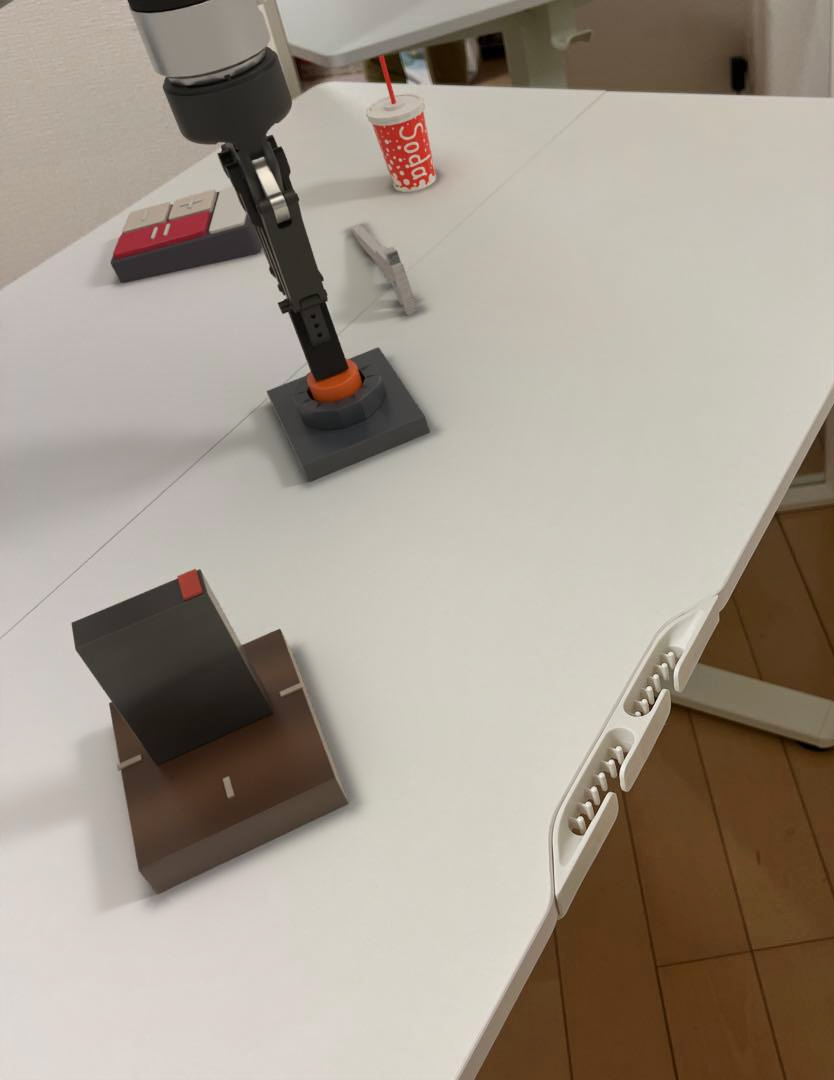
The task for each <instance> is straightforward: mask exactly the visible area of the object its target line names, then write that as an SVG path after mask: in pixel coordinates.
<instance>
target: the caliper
mask: <svg viewBox="0 0 834 1080" xmlns="http://www.w3.org/2000/svg"><path fill="white" fill-rule="evenodd" d="M351 232H352V234H353V236H354V237H355V239H356V240H357V242H358V244H360V247H361V248H362V249H363V250H364V252H365V253H367V255H368V256H369V257H370V258H371V260H373V261H374V262H375V264H377V265H378V267H380V268H381V270H382V273H383V276H384V278H386V279H387V281H388V282H389V281H390V283H391V284H392V288H393V290H394V292H395V295H396V297H397V300H398V302H399V305H400V307H403V310H404V312H405V314H406V315H407V316H411V315H413V314H416V313H418V308H417V304H416V301H415V298H414V294H413V291H412V288H411V284H410V281H409V278H408V276H407V272H406V270H405V267H404V264H403V263H402V261H401V258H400V255H399V252H398V250H397V249H396V248H395V247H394V246H391V247H389V248H388V247H386V246H383V245H382V244H381V243H380V242H379V241H378V240H377V239H376V238H375V237H374V236H373V235H372V234H371V233H370V232H369V231H368V230H367V229H366V228H365V227H364V226H362V224H358V225H355V226H353V227H351Z"/></svg>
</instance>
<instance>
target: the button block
mask: <svg viewBox="0 0 834 1080" xmlns="http://www.w3.org/2000/svg"><path fill="white" fill-rule="evenodd" d="M348 359H349V360H351V361H353V362H354V363H355V364H356V366H357V368H358V371H359V374H360V377H361V380H362V383H363V385H362V387H361V388H359V389H358V390H357V391H356V392H355V393H353V394H352V395H351V396H349V397H346V398H344V399H341V400H339V401H334V402H323V403H321V402H318V401H315V400H314V398H313V396H312V393H311V390H310V388H309V385H308V383H307V377H308V374H309V373H310V371H309V372H307V374H305V375H304V376H300V377H298V378H296V379H294V380H291V381H288V382H286V383H283V384H281V385H278V386H276V387H273V388H271V389H268V390H266V393H267V396H268V399H269V401H270V403H271V405H272V408H273V410H274V412H275V414H276V416H277V418H278V421H279V423H280V424H281V427H282V429H283V431H284V433H285V435H286V438H287V440H288V442H289V444H290V446H291V448H292V450H293V452H294V454H295V457H296V458H297V461H298V463H299V465H300V467H301V469H302V471H303V473H304V475H305V477H306V480H307V482H308V483H311V482H314V481H316V480H319V479H322V478H323V477H326V476H329V475H331V474H333V473H335V472H338V471H341V470H344V469H345V468H348V467H350V466H352V465H355V464H357V463H360V462H362V461H366V460H367V459H370V458H373V457H375V456H377V455H379V454H381V453H384V452H386V451H390V450H391V449H394V448H397V447H399V446H401V445H404V444H406V443H409V442H411V441H414V440H416V439H419V438H421V437H423V436H425V435H428V434H430V433H431V430H430V427H429V424H428V420H427V418H426V416H425V413H424V412H423V410H422V409H421V408H420V406H419V405H418V403H417V402H416V401H415V399H414V398H413V396H412V394H411V393H410V391H409V390H408V389H407V387H406V386H405V383H403V381H402V379H401V378H400V377H399V375H398V373H397V372H396V371H395V369H394V367H393V366H392V364H391V363H390V362H389V360H388V359H387V357H386V355H385V354H384V353H383V351H382V350H381V348H380V347H375V348H373V349H370V350H367V351H365V352H362V353H360V354H357V355H355V356H352V357H349V358H348Z"/></svg>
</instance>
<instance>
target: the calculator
mask: <svg viewBox="0 0 834 1080" xmlns="http://www.w3.org/2000/svg"><path fill="white" fill-rule="evenodd" d="M261 251H262V246H261V244H260V241H259V239H258V236H257V234H256V231H255V229H254V226H253V224H252V222H251V220H250V219H249V217H248V215H247V213H246V212H245V210H244V209H243V207H242V205H241V204H240V202H239V199H238V197H237V194H236V191H235V189H234V187H233V185H231V186H227V187H223V188H222V189H219V191H217V190H216V189H210V190H207V191H202V192H199V193H194V194H191V195H187V196H185V197H180V198H177V199H175V200H174V201H173V203H171V202H170V201H167V202H163V203H159V204H155V205H152V206H151V205H150V206H147V207H145V208H140V209H137V210H134V211H130V212H129V213H128V216H127V218H126V220H125V223H124V225H123V227H122V230H121V234H120V236H119V237H118V240H117V243H116V245H115V248H114V250H113V252H112V257H111V260H110V266H111V268H112V269H113V271H114V273H115V274H116V276H117V278H118V280H119V281H120V283H121V284H126V283H131V282H135V281H139V280H144V279H149V278H153V277H154V278H155V277H158V276H162V275H163V276H164V275H168V274H171V273H172V274H173V273H177V272H180V271H187V270H189V269H196V268H199V267H204V266H209V265H212V264H218V263H223V262H227V261H232V260H236V259H242V258H245V257H250V256H254V255H258V254H260V253H261Z"/></svg>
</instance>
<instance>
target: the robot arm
mask: <svg viewBox="0 0 834 1080" xmlns="http://www.w3.org/2000/svg"><path fill="white" fill-rule="evenodd" d="M14 1H15V0H0V10H1V9H2V8H5V7H6V6H7V5H9V4H11V3H12V2H14ZM267 1H268V0H127V3H128V8H129V11H130V14H131V16H132V18H133V21H134V23H135V26H136V28H137V31H138V33H139V36H140V38H141V41H142V44H143V46H144V48H145V50H146V54H147V55H148V58H149V61H150V62H151V65H152V68H153V71H154V72H155V73H156V74H158V75H160V76H163V77H164V80H163V84H162V90H163V92H164V94H165V98H166V100H167V104H168V105H169V107H170V111H171V112H172V115H173V117H174V120H175V122H176V124H177V127H178V130H179V132H180V134H181V136H182V137H183V138H185V139H186V140H187V141H189V142H192V143H195V144H198V145H206V146H210V145H211V146H213V145H214V146H215V145H218V143H223V144H220V148H221V150H220V152H217V158H218V160H219V162H220V163H219V164H220V165H221V168H222V170H223V172H224V174H225V175H226V177H227V178H228V179H229V181H230V183H231V186H233V187H234V189H235V191H236V194H237V197H238V199H239V202H240V204H241V205H242V207H243V209H244V210H245V212H246V213H247V215H248V217H249V219H250V220H251V222H252V224H253V226H254V229H255V231H256V234H257V236H258V239H259V241H260V244H261V246H262V248H261V250H262V251H263V253H264V256H265V258H266V260H267V263H268V266H269V267H268V270H269V271H268V272H269V273H270V275H272V277H274V279H276V281H277V289H278V291H279V292H280V293H281V294H282V295H283V296H284V297H285V298H284V299H283V300H281V301H279V302H277V305H278V307H279V310H280V313H281V314H282V315H284V314H287V313H288V316H289V318H290V321H291V323H292V326H293V328H294V331H295V334H296V337H297V339H298V342H299V345H300V347H301V349H302V352H303V355H304V357H305V359H306V363H307V366H308V368H309V370H310V371H311V373H312V375H313V377H314V378H315V380H316V381H318V380H321V379H323V378H326V377H328V376H331V375H334V374H336V373H339V372H341V371H344V370H346V369H349V367H348V364H347V362H346V359H347V358H346V356H345V353H344V350H343V348H342V345H341V343H340V339H339V336H338V333H337V331H336V328H335V325H334V322H333V320H332V316H331V313H330V311H329V307H328V305H327V302H329V298H328V296H329V295H328V291H327V290H326V288H325V287H324V284H323V282H325V279H324V277H323V274H322V273H321V271H320V270H319V267H318V265H317V261H316V258H315V255H314V251H313V249H312V245H311V243H310V239H309V236H308V233H307V230H306V227H305V223H304V219H303V216H302V211H301V207H300V202H299V201H300V197H299V195H298V193H297V192H296V191H295V189H294V187H293V184H292V180H291V177H290V176H291V166H290V164H289V161H288V158H287V155H286V153H285V150H284V149H283V147H282V146H281V145H280V146H278V144H277V141H276V138H275V136H274V135H273V134H270V135H267V133H269V130H270V129H271V128H272V127H273V126H275V125H276V124H279V123H281V122H282V121H283V120H284V119H285V118H286V117H287V116H288V115H289V113H290V112H291V110H292V107H293V106H292V105H293V98H292V94H291V92H290V89H289V86H288V83H287V80H286V76H285V74H284V70H283V67H282V64H281V60H280V58H279V54H278V53H277V52H276V51H275V50H273V49H272V48H271V47H269V46H268V45H269V43H270V41H271V33H270V31H269V27H268V24H267V22H266V18H265V15H264V13H263V12H262V11H261V10H260V8H259V6H261V5H264V4H265V3H267ZM310 371H309V372H310Z"/></svg>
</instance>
